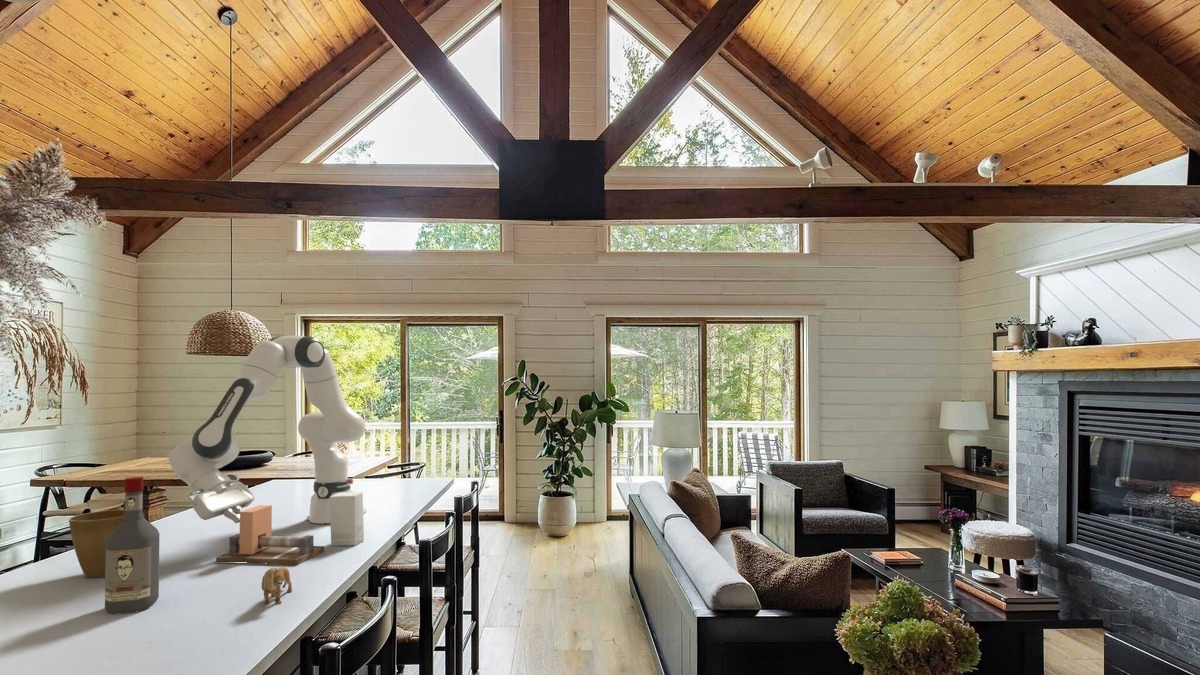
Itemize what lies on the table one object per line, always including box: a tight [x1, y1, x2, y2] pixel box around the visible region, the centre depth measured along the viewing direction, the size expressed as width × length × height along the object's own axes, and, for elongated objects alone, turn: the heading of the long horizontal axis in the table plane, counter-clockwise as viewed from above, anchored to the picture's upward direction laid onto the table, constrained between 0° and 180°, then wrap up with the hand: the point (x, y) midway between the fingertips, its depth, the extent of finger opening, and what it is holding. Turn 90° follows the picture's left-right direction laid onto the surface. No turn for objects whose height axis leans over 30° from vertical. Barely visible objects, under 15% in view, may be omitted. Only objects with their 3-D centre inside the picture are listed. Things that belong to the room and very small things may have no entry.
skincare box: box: [329, 491, 365, 547], centre depth 210 cm, size 8×7×16 cm
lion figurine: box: [261, 566, 293, 607], centre depth 161 cm, size 15×5×9 cm, turn 16°
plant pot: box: [68, 509, 125, 579], centre depth 182 cm, size 15×15×16 cm
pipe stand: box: [215, 533, 325, 566], centre depth 196 cm, size 14×25×6 cm, turn 83°
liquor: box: [104, 476, 160, 615], centre depth 157 cm, size 9×9×30 cm
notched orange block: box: [239, 504, 273, 554], centre depth 197 cm, size 9×4×12 cm, turn 173°
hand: (241, 520), depth 198 cm, fingers closed
